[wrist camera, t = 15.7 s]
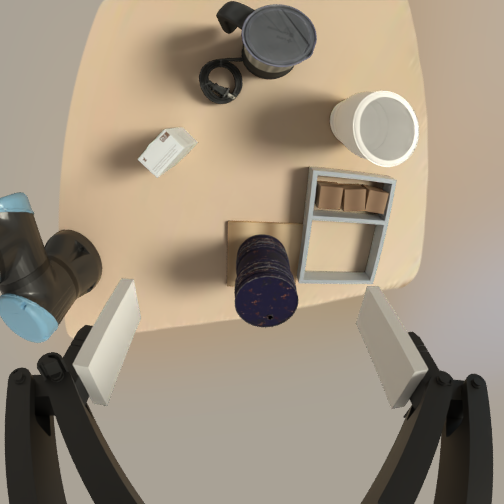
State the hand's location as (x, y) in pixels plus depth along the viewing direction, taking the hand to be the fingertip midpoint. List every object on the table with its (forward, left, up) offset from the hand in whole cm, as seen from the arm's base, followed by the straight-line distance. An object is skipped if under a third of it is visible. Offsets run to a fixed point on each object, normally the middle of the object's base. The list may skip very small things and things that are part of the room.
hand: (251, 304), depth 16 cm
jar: (+18, +10, -39) cm, 44 cm away
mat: (+4, -17, -39) cm, 42 cm away
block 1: (+14, -4, -39) cm, 42 cm away
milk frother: (0, +18, -39) cm, 43 cm away
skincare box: (-12, +4, -39) cm, 41 cm away
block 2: (+19, -4, -39) cm, 43 cm away
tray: (+19, -10, -39) cm, 44 cm away
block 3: (+23, -4, -39) cm, 45 cm away
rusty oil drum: (+4, -17, -38) cm, 42 cm away
